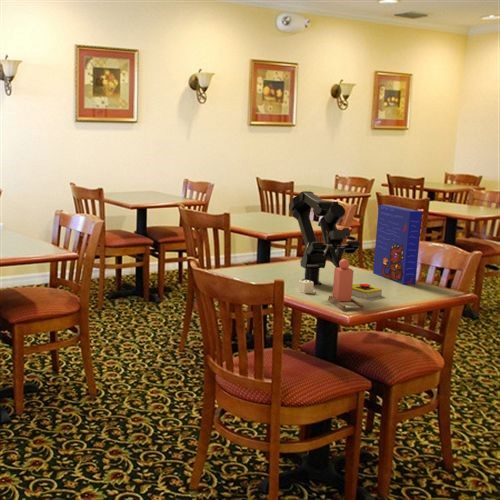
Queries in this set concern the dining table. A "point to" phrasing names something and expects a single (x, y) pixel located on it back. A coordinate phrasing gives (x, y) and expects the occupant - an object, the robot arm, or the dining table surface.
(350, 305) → the track
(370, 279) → the dining table surface
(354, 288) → the emergency button
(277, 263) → the dining table surface
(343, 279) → the pawn
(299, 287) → the die
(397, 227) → the cereal box
